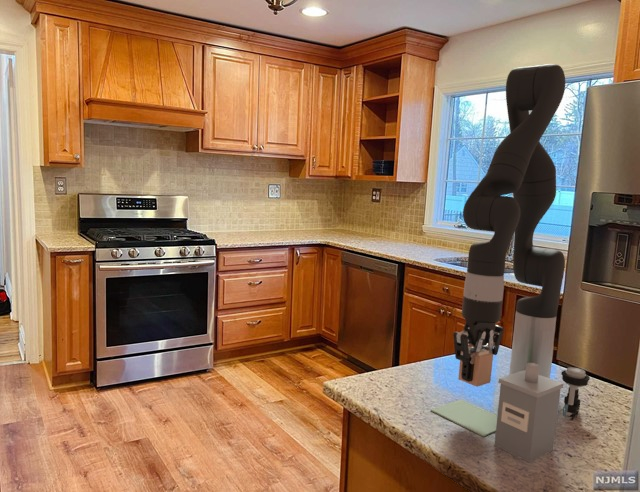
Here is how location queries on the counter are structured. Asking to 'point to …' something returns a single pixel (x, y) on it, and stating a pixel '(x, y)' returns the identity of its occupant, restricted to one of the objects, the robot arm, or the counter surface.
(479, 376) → the block
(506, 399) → the box
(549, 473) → the counter surface
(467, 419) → the pad
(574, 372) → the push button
